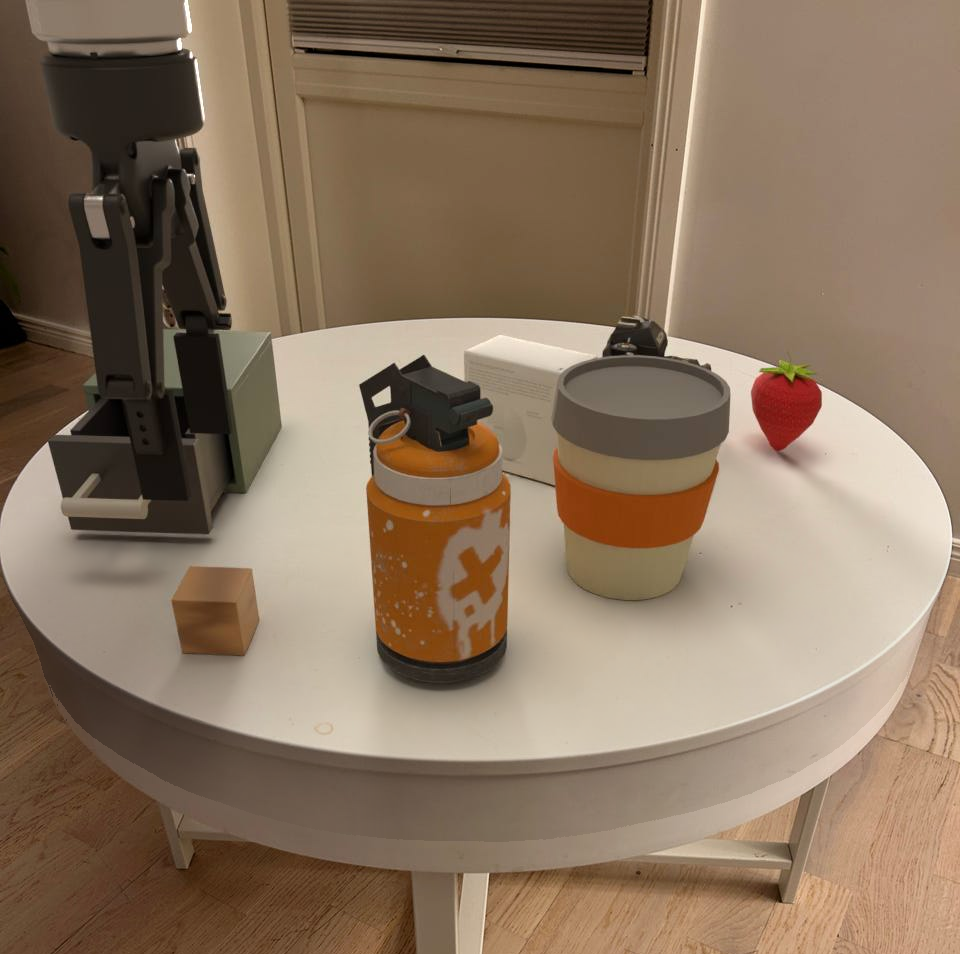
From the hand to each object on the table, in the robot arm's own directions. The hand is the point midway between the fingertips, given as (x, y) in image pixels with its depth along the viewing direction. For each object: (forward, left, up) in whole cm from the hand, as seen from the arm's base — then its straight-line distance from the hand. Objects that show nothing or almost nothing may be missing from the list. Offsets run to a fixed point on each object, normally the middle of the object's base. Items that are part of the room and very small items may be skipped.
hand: (190, 462), depth 63 cm
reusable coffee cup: (+29, +11, -14) cm, 34 cm away
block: (0, 0, -13) cm, 13 cm away
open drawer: (-10, +16, -13) cm, 23 cm away
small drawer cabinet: (-10, +29, -13) cm, 33 cm away
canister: (+15, 0, -14) cm, 20 cm away
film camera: (+33, +40, -14) cm, 54 cm away
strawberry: (+45, +34, -14) cm, 58 cm away
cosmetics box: (+21, +30, -14) cm, 39 cm away
